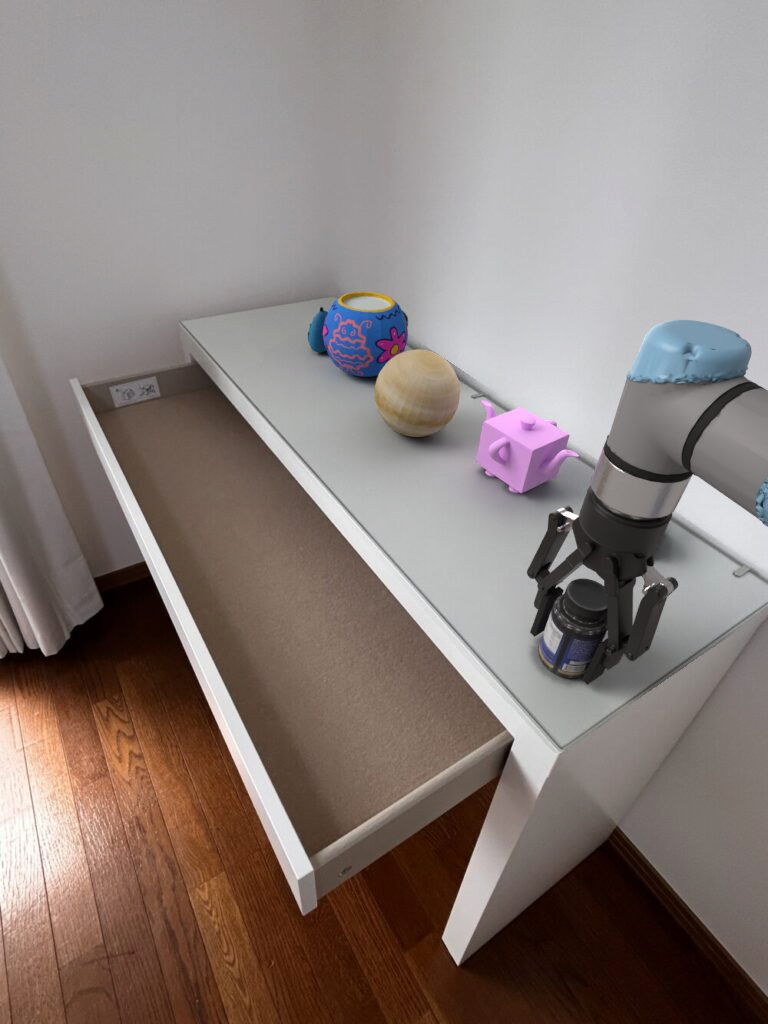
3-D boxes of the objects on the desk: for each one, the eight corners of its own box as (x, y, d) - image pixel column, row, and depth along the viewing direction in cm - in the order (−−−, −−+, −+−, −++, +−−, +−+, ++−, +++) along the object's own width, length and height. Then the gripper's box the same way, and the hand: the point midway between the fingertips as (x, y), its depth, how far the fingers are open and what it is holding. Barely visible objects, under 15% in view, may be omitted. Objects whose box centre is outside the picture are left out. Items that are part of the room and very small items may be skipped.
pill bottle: (596, 652, 68) (626, 589, 61) (580, 689, 64) (611, 626, 57) (546, 629, 70) (570, 565, 63) (528, 663, 66) (552, 598, 59)
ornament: (322, 342, 133) (322, 299, 127) (339, 347, 131) (340, 303, 125) (302, 354, 127) (301, 310, 121) (320, 359, 126) (319, 315, 119)
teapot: (465, 491, 91) (476, 432, 84) (472, 447, 101) (482, 392, 95) (561, 507, 89) (581, 449, 82) (558, 461, 100) (575, 406, 93)
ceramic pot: (416, 364, 127) (423, 296, 117) (384, 397, 114) (389, 323, 104) (346, 347, 132) (347, 280, 122) (308, 377, 119) (306, 305, 109)
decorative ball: (402, 402, 113) (409, 328, 103) (468, 428, 106) (482, 352, 97) (355, 432, 103) (358, 353, 93) (425, 463, 97) (435, 382, 87)
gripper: (760, 545, 47) (659, 701, 62) (571, 434, 60) (524, 586, 74) (712, 580, 44) (617, 736, 58) (522, 455, 56) (482, 609, 70)
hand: (565, 652), depth 66 cm, fingers open, 7 cm apart
